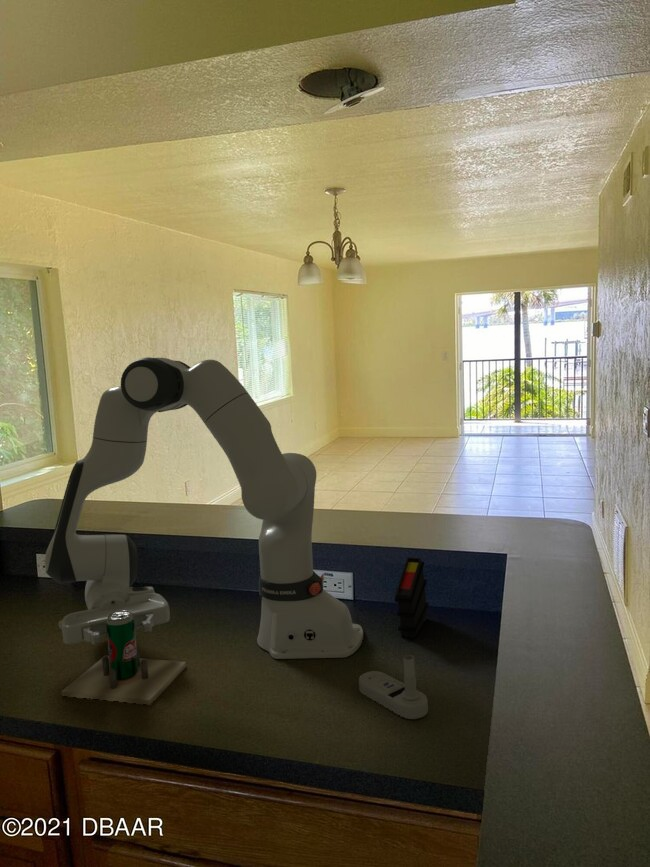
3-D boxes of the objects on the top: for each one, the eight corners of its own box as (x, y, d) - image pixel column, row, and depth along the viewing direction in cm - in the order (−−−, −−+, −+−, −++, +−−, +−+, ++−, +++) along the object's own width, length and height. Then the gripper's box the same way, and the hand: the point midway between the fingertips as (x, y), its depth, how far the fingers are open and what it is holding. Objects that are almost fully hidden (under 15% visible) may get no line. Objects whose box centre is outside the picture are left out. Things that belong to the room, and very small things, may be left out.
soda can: (129, 682, 121) (123, 621, 119) (105, 680, 122) (99, 619, 120) (143, 669, 125) (138, 610, 124) (120, 667, 127) (115, 608, 125)
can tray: (186, 666, 128) (184, 644, 128) (150, 705, 115) (148, 680, 114) (105, 660, 133) (103, 638, 132) (62, 696, 119) (59, 672, 119)
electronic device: (372, 630, 119) (431, 657, 107) (376, 681, 120) (435, 713, 108) (350, 639, 116) (408, 668, 104) (353, 691, 117) (411, 725, 105)
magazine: (431, 605, 148) (423, 557, 140) (419, 653, 137) (409, 603, 130) (415, 604, 149) (406, 556, 141) (402, 650, 139) (391, 601, 131)
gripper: (56, 605, 129) (60, 631, 117) (159, 584, 138) (174, 606, 125) (59, 635, 130) (64, 664, 118) (162, 613, 139) (177, 637, 126)
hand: (122, 634), depth 122 cm, fingers open, 8 cm apart
